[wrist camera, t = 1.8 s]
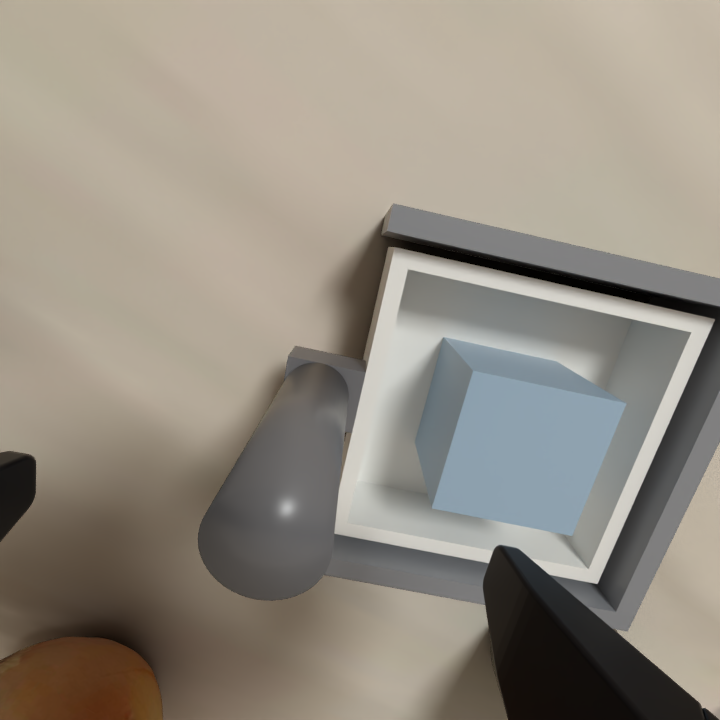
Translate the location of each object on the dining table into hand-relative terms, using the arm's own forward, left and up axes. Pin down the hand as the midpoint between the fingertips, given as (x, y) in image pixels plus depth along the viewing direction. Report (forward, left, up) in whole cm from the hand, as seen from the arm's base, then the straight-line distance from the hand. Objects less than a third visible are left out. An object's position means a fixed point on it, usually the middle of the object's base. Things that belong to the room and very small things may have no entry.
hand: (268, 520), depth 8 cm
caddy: (+6, 0, -11) cm, 12 cm away
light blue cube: (+7, 0, -10) cm, 13 cm away
